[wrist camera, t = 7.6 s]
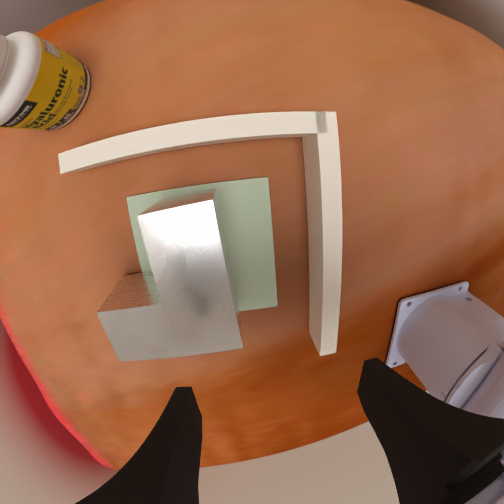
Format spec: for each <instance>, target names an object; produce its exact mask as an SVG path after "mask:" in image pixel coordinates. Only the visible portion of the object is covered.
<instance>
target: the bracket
mask: <svg viewBox="0 0 504 504" xmlns="http://www.w3.org/2000/svg"><path fill="white" fill-rule="evenodd" d="M137 217H138V221H139V225H140V229H141V233H142V237H143V241H144V245H145V248H146V252H147V256H148V259H149V263H150V266H151V270H152V271H147V272H141V273H135V274H130V275H124V276H123V277H122V278H121V280H120V281H119V282H118V284H117V285H116V286H115V288H114V289H113V290H112V292H111V293H110V295H109V296H108V297H107V299H106V300H105V301H104V303H103V304H102V306H101V307H100V308H99V310H98V311H97V315H98V317H99V319H100V321H101V324H102V326H103V328H104V330H105V332H106V334H107V337H108V339H109V341H110V343H111V345H112V347H113V349H114V351H115V353H116V355H117V357H118V359H119V361H137V360H151V359H162V358H173V357H182V356H191V355H199V354H207V353H214V352H221V351H228V350H234V349H240V348H243V342H242V333H241V325H240V316H239V306H238V300H237V295H236V290H235V285H234V280H233V275H232V270H231V265H230V260H229V255H228V250H227V244H226V239H225V234H224V229H223V223H222V218H221V212H220V207H219V201H218V196H217V190H216V188H214V189H209V190H204V191H199V192H194V193H189V194H184V195H179V196H174V197H170V198H165V199H161V200H159V201H158V202H156V203H155V204H154V205H152V206H151V207H149V208H148V209H146V210H145V211H143V212H142V213H141V214H139V215H138V216H137Z"/></svg>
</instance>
